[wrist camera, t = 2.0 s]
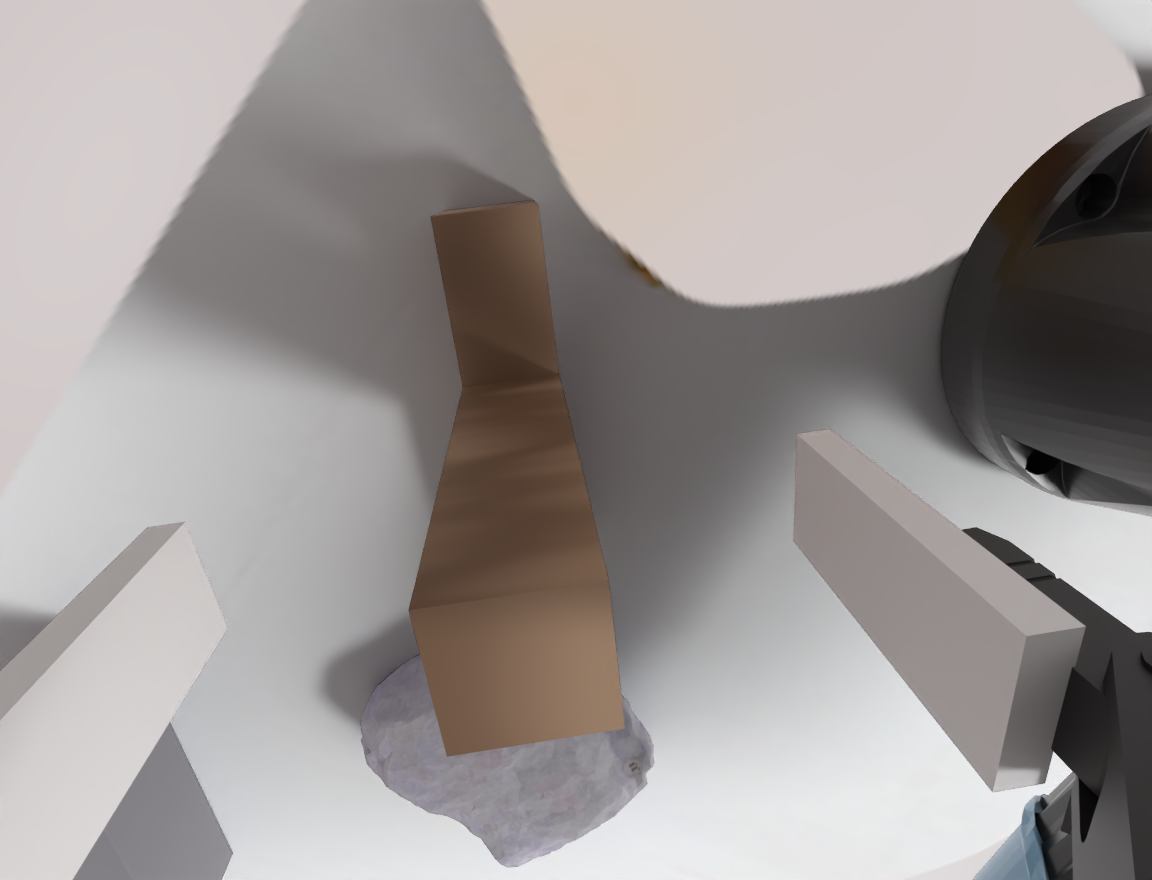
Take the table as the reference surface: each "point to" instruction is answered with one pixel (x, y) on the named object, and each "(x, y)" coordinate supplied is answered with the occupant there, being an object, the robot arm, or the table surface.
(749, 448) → the table surface
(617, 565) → the table surface
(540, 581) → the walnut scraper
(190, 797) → the block
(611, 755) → the stone block
